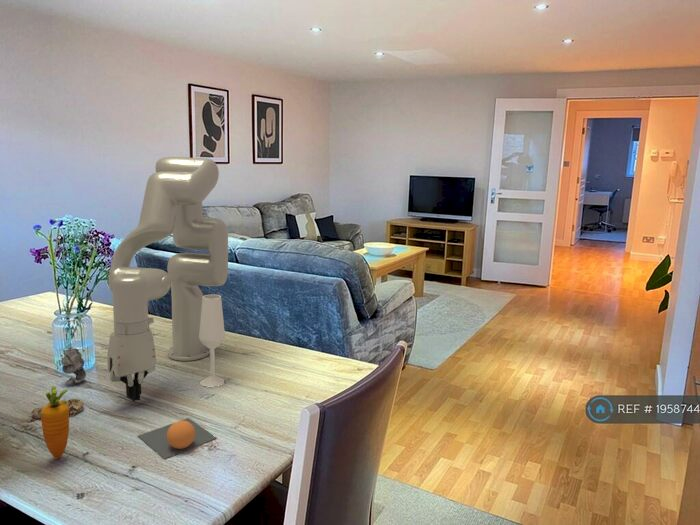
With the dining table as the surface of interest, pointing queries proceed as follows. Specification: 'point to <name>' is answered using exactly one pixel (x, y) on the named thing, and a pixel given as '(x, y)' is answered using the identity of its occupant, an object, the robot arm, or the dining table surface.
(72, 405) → the mineral rock
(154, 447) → the slate mark
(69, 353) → the seashell
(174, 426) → the ball
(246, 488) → the dining table surface
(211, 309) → the champagne flute
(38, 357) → the dining table surface
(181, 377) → the dining table surface
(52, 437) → the carrot
